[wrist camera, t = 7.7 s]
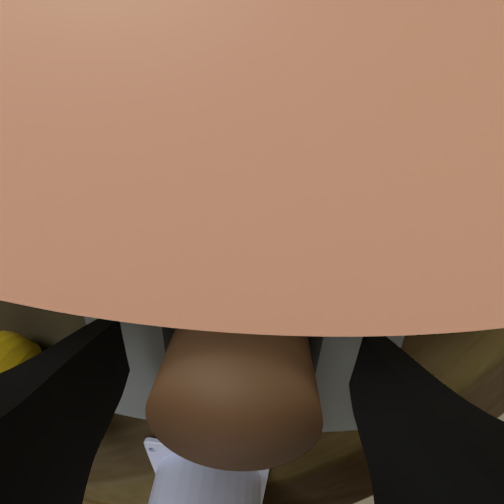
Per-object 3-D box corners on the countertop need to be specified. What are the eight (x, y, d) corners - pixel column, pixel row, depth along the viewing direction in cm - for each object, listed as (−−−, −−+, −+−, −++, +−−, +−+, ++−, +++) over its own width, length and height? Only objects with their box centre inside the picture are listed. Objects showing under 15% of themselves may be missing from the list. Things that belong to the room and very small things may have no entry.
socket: (356, 393, 15) (366, 429, 12) (128, 379, 15) (113, 412, 13) (411, 152, 11) (444, 158, 8) (97, 137, 11) (62, 140, 8)
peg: (292, 330, 13) (309, 470, 7) (200, 327, 14) (162, 463, 7) (299, 242, 12) (337, 368, 5) (194, 240, 12) (127, 359, 6)
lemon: (65, 317, 14) (-23, 427, 6) (84, 392, 16) (30, 494, 8) (-5, 296, 14) (-90, 374, 6) (18, 367, 16) (-42, 448, 8)
